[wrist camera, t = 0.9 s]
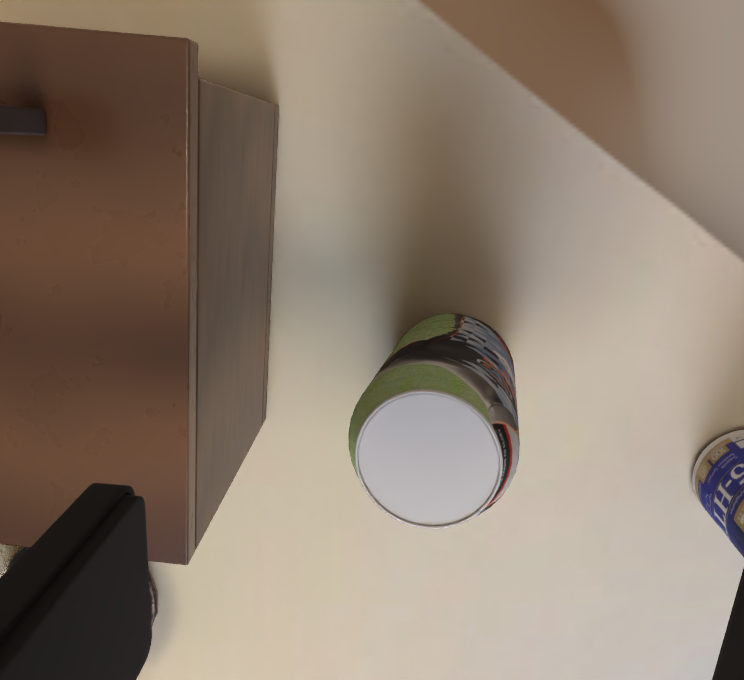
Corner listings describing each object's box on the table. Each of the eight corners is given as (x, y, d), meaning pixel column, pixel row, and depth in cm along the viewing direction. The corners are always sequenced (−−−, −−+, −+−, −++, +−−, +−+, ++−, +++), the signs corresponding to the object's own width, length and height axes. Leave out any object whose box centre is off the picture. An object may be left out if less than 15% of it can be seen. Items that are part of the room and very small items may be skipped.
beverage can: (488, 433, 33) (530, 584, 21) (353, 397, 33) (321, 530, 21) (527, 321, 31) (596, 422, 19) (383, 283, 31) (368, 361, 19)
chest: (-15, 78, 29) (-269, 34, 18) (279, 105, 29) (199, 77, 18) (12, 392, 34) (-177, 508, 23) (265, 420, 33) (195, 551, 22)
